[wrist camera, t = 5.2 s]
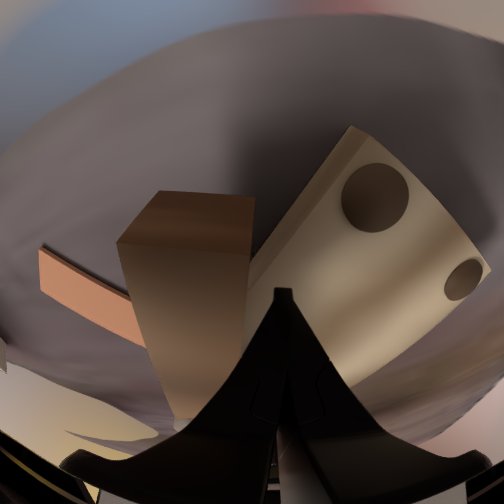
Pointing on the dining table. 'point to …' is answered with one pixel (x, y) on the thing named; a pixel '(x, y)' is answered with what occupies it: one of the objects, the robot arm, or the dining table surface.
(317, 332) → the birch seat
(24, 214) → the dining table surface
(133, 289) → the walnut leg
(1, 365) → the figurine
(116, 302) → the marker strip
